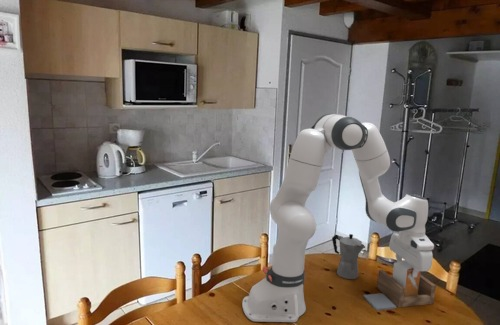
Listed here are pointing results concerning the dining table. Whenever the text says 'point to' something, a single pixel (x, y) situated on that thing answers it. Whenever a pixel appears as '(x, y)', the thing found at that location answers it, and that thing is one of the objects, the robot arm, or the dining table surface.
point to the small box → (406, 277)
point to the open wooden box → (397, 291)
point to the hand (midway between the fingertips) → (406, 271)
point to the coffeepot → (348, 255)
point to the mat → (379, 301)
